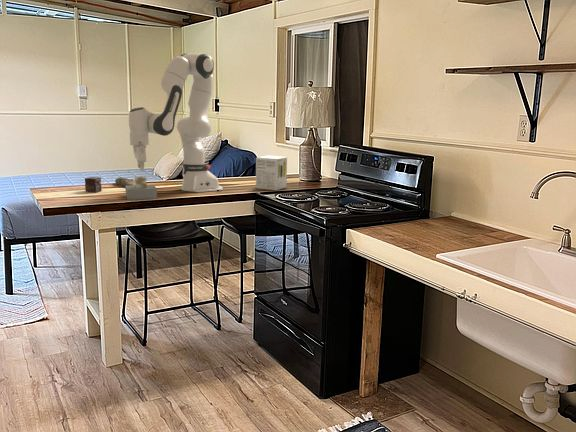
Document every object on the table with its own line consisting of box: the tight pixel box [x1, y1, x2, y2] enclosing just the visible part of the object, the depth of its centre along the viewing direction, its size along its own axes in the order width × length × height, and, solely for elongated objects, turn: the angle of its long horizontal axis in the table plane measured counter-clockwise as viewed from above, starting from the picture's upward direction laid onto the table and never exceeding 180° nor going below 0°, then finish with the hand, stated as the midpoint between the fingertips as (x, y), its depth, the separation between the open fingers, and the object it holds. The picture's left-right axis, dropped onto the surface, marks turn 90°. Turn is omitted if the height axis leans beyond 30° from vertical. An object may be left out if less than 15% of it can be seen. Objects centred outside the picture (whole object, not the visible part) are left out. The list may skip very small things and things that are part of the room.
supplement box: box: [255, 155, 288, 191], centre depth 315 cm, size 13×13×18 cm
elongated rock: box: [115, 176, 135, 188], centre depth 310 cm, size 35×5×10 cm
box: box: [84, 176, 103, 194], centre depth 293 cm, size 6×6×7 cm
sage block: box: [134, 176, 148, 188], centre depth 280 cm, size 5×5×5 cm
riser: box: [124, 184, 158, 201], centre depth 281 cm, size 14×12×5 cm
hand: (141, 169), depth 278 cm, fingers open, 8 cm apart
